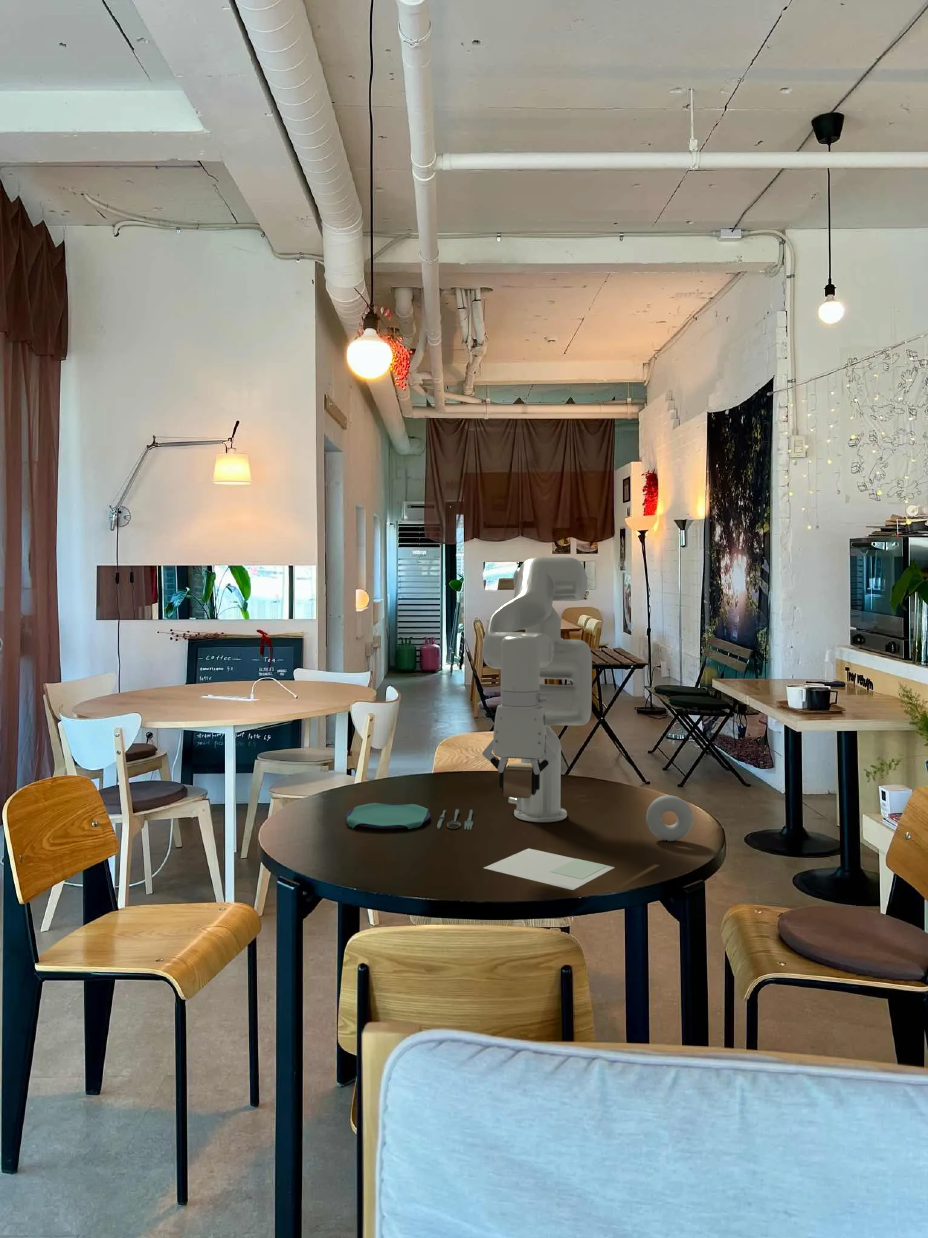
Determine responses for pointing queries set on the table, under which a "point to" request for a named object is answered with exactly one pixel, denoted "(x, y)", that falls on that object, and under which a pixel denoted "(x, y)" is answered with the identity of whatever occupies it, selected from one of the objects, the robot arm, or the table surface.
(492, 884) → the table surface
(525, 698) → the robot arm
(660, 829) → the donut
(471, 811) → the cutlery set
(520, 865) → the grey mat
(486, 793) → the table surface
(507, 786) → the oak block
